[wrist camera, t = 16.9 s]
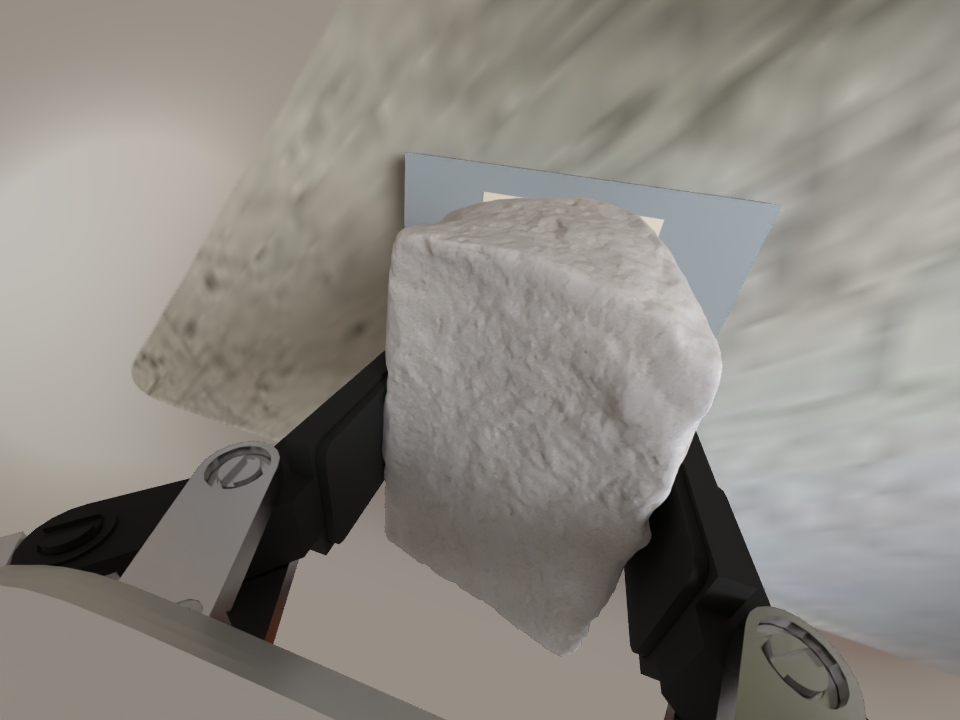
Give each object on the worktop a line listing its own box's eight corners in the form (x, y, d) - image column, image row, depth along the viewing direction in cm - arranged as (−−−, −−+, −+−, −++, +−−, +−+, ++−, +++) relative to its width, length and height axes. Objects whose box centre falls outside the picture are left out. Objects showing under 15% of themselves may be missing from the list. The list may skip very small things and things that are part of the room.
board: (767, 202, 13) (782, 205, 12) (651, 443, 19) (655, 459, 18) (417, 153, 16) (404, 152, 15) (411, 380, 22) (401, 391, 21)
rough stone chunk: (518, 214, 11) (392, 120, 6) (749, 260, 9) (862, 166, 4) (440, 483, 14) (301, 577, 9) (604, 584, 11) (544, 809, 6)
